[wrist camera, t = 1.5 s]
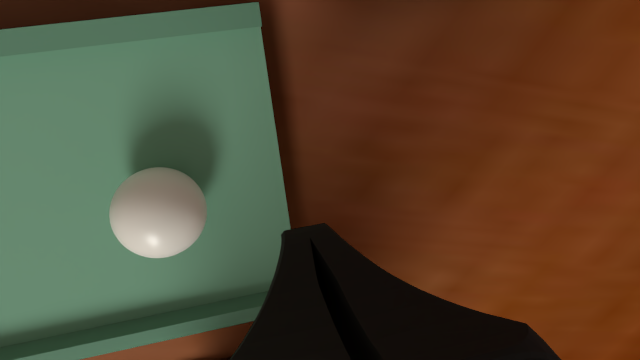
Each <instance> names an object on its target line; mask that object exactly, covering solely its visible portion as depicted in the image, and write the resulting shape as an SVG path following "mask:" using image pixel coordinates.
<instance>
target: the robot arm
mask: <svg viewBox="0 0 640 360" xmlns="http://www.w3.org/2000/svg"><path fill="white" fill-rule="evenodd" d="M230 360H561V359H560V358H559V357H558V356H557V355H556V354H555V352H554V351H553V350H552V349H551V348H550V347H549V346H548V344H547V343H546V342H545V341H544V340H543V339H542V338H541V337H540V336H539V335H538V334H537V333H536V332H535V331H533V330H532V329H531V328H530V327H529V326H528V325H527V324H526V323H522V322H518V321H514V320H509V319H505V318H501V317H497V316H493V315H489V314H485V313H482V312H479V311H475V310H472V309H469V308H466V307H463V306H460V305H457V304H454V303H452V302H449V301H446V300H444V299H441V298H439V297H436V296H434V295H432V294H429V293H427V292H425V291H422V290H420V289H418V288H416V287H414V286H412V285H410V284H408V283H406V282H404V281H402V280H400V279H399V278H397V277H395V276H393V275H391V274H390V273H388V272H386V271H385V270H383V269H382V268H380V267H379V266H377V265H376V264H374V263H373V262H371V261H370V260H369V259H367V258H366V257H365V256H363V255H362V254H361V253H359V252H358V251H357V250H355V249H354V248H353V247H352V246H351V245H349V244H348V243H347V242H346V241H345V240H343V239H342V238H341V237H340V236H339V235H338V234H337V233H336V232H334V231H333V230H332V229H331V228H330V227H329V226H328V225H327V224H325V223H322V224H317V225H312V226H306V227H301V228H296V229H291V230H285V231H284V232H283V233H282V234H281V249H280V255H279V259H278V263H277V267H276V271H275V274H274V277H273V280H272V282H271V285H270V288H269V291H268V293H267V296H266V298H265V300H264V303H263V305H262V307H261V309H260V311H259V313H258V315H257V317H256V319H255V321H254V322H253V324H252V326H251V328H250V329H249V331H248V333H247V335H246V336H245V338H244V339H243V341H242V343H241V344H240V346H239V347H238V349H237V350H236V351H235V353H234V354H233V355H232V357H231V358H230Z"/></svg>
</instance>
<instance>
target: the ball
mask: <svg viewBox="0 0 640 360" xmlns="http://www.w3.org/2000/svg"><path fill="white" fill-rule="evenodd" d="M109 218H110V224H111V228H112V230H113V232H114V234H115V236H116V237H117V239H118V240H119V242H120V243H121V244H122V245H123V246H124V247H125V248H127V249H128V250H130V251H131V252H133V253H135V254H138V255H140V256H144V257H148V258H165V257H170V256H173V255H176V254H178V253H180V252H182V251H184V250H186V249H187V248H189V247H190V246H191V245H192V244H193V243H194V242H195V241H196V240H197V239H198V237H199V236H200V234H201V232H202V230H203V228H204V226H205V222H206V218H207V205H206V200H205V197H204V194H203V192H202V190H201V189H200V187H199V186H198V185H197V184H196V182H195V181H194V180H193V179H191V178H190V177H189V176H187V175H186V174H184V173H182V172H180V171H178V170H175V169H171V168H165V167H154V168H148V169H144V170H141V171H139V172H137V173H135V174H133V175H131V176H130V177H128V178H127V179H126V180H125V181H124V182H123V183H122V184H121V185H120V186H119V187H118V189H117V190H116V192H115V193H114V196H113V198H112V201H111V204H110V210H109Z"/></svg>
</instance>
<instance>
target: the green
mask: <svg viewBox="0 0 640 360" xmlns="http://www.w3.org/2000/svg"><path fill="white" fill-rule="evenodd" d="M261 26H262V22H261V15H260V8H259V2H252V3H242V4H233V5H224V6H214V7H205V8H196V9H186V10H177V11H168V12H158V13H149V14H140V15H130V16H121V17H112V18H102V19H93V20H83V21H74V22H65V23H55V24H46V25H37V26H27V27H18V28H9V29H0V360H79V359H84V358H88V357H93V356H97V355H102V354H106V353H111V352H115V351H120V350H125V349H129V348H134V347H138V346H143V345H147V344H152V343H156V342H161V341H165V340H170V339H174V338H179V337H183V336H188V335H192V334H197V333H202V332H206V331H211V330H215V329H220V328H224V327H229V326H233V325H238V324H242V323H247V322H251V321H255V319H256V317H257V315H258V313H259V311H260V309H261V307H262V305H263V303H264V300H265V298H266V296H267V293H268V291H269V288H270V285H271V282H272V280H273V277H274V274H275V271H276V267H277V263H278V259H279V255H280V249H281V234H282V233H283V232H284V231H285V230H291V228H290V221H289V214H288V208H287V201H286V194H285V187H284V181H283V174H282V167H281V161H280V154H279V147H278V140H277V134H276V127H275V120H274V114H273V107H272V100H271V93H270V87H269V80H268V73H267V66H266V60H265V53H264V46H263V40H262V33H261ZM154 167H165V168H171V169H175V170H178V171H180V172H182V173H184V174H186V175H187V176H189V177H190V178H191V179H193V180H194V181H195V182H196V184H197V185H198V186H199V187H200V189H201V190H202V192H203V194H204V197H205V200H206V205H207V218H206V222H205V226H204V228H203V230H202V232H201V234H200V236H199V237H198V239H197V240H196V241H195V242H194V243H193V244H192V245H191V246H190V247H189V248H187V249H186V250H184V251H182V252H180V253H178V254H176V255H173V256H170V257H165V258H148V257H144V256H140V255H138V254H135V253H133V252H131V251H130V250H128V249H127V248H125V247H124V246H123V245H122V244H121V243H120V242H119V240H118V239H117V237H116V236H115V234H114V232H113V230H112V228H111V224H110V218H109V210H110V204H111V201H112V198H113V196H114V193H115V192H116V190H117V189H118V187H119V186H120V185H121V184H122V183H123V182H124V181H125V180H126V179H127V178H128V177H130V176H131V175H133V174H135V173H137V172H139V171H141V170H144V169H148V168H154Z"/></svg>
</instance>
